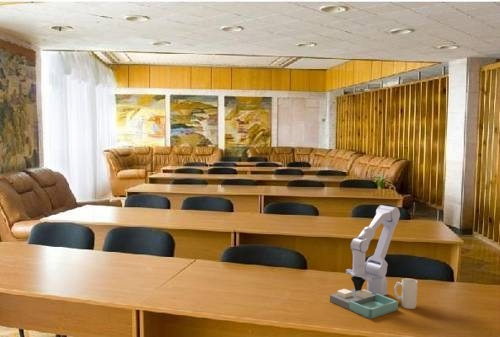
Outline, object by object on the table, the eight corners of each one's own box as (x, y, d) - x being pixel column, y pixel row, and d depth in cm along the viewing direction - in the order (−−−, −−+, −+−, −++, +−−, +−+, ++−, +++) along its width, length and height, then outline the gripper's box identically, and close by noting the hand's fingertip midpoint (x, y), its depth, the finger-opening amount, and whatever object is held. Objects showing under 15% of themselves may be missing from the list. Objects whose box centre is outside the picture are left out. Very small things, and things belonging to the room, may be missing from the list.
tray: (376, 301, 222) (376, 293, 221) (397, 310, 212) (398, 301, 211) (349, 309, 212) (349, 301, 211) (370, 319, 202) (370, 309, 201)
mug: (416, 304, 218) (417, 279, 217) (416, 309, 212) (417, 283, 211) (393, 301, 222) (394, 276, 221) (393, 307, 215) (394, 281, 214)
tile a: (363, 293, 224) (363, 289, 224) (371, 296, 220) (371, 292, 220) (356, 295, 222) (356, 291, 221) (364, 298, 217) (364, 294, 217)
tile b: (344, 292, 225) (344, 288, 225) (352, 295, 221) (352, 291, 221) (336, 294, 222) (337, 290, 222) (344, 298, 218) (344, 293, 218)
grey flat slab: (356, 293, 232) (357, 288, 232) (375, 301, 222) (376, 295, 222) (329, 301, 222) (330, 295, 222) (348, 309, 212) (348, 303, 212)
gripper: (341, 261, 226) (341, 289, 227) (364, 269, 214) (363, 298, 215) (352, 259, 230) (351, 286, 231) (375, 266, 218) (374, 295, 219)
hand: (358, 292), depth 224 cm, fingers closed
